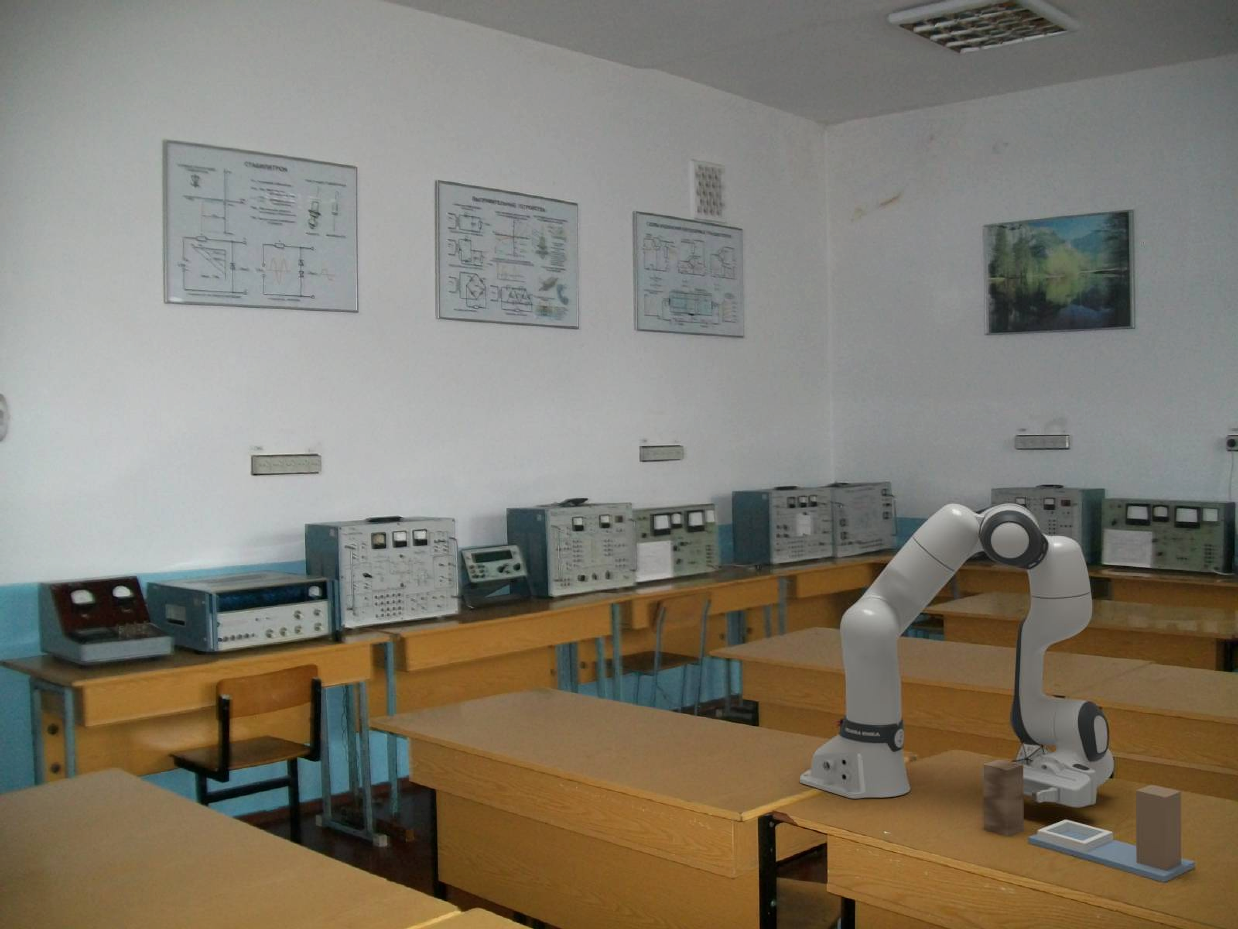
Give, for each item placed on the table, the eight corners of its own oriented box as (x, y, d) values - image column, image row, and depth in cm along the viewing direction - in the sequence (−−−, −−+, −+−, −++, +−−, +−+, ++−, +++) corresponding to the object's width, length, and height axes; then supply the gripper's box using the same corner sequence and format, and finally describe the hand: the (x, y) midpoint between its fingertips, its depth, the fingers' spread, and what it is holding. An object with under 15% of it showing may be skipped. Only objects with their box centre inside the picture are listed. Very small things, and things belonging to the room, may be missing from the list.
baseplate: (1028, 843, 210) (1027, 769, 210) (1059, 830, 216) (1059, 759, 216) (1164, 882, 191) (1164, 802, 191) (1194, 867, 197) (1194, 789, 197)
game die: (1026, 795, 250) (996, 756, 251) (1042, 772, 256) (1012, 735, 257) (1058, 783, 243) (1027, 743, 245) (1073, 760, 249) (1043, 721, 250)
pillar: (983, 829, 218) (983, 764, 217) (999, 823, 221) (999, 759, 220) (1007, 836, 214) (1007, 770, 213) (1023, 830, 217) (1023, 765, 217)
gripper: (1006, 750, 236) (964, 762, 227) (1103, 772, 220) (1062, 786, 211) (1006, 781, 236) (964, 795, 227) (1103, 806, 220) (1062, 822, 211)
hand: (1012, 791), depth 219 cm, fingers open, 8 cm apart
